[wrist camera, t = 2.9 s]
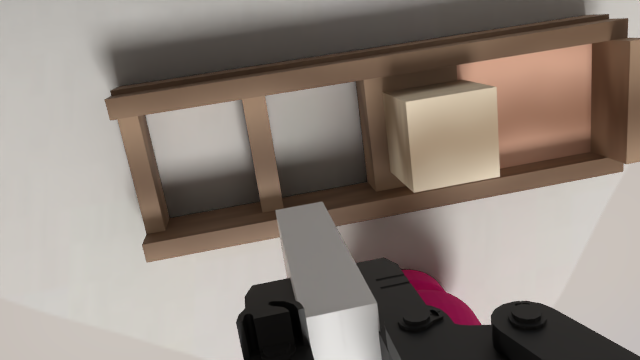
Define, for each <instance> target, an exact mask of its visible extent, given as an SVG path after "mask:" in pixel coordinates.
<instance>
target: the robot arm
mask: <svg viewBox="0 0 640 360" xmlns="http://www.w3.org/2000/svg"><path fill="white" fill-rule="evenodd" d="M275 211H276V217H277V223H278V228H279V234H280V240H281V246H282V251H283V257H284V263H285V269H286V274H287V279H283V280H278V281H273V282H268V283H263V284H258V285H253V286H252V287H251V288H250V290H249V291H248V293H247V294H246V296H245V309H244V310H243V311H242V312H241V313H240V314H239V316H238V319H237V322H236V324H237V329H238V334H239V339H240V343H241V348H242V353H243V358H244V360H640V356H638V355H636V354H634V353H632V352H631V351H629V350H627V349H625V348H623V347H622V346H620V345H618V344H616V343H614V342H613V341H611V340H609V339H607V338H605V337H604V336H602V335H600V334H598V333H596V332H595V331H593V330H591V329H589V328H587V327H586V326H584V325H582V324H580V323H578V322H577V321H575V320H573V319H571V318H569V317H568V316H566V315H564V314H562V313H560V312H559V311H557V310H555V309H553V308H551V307H548V306H546V305H543V304H541V303H535V302H530V301H515V302H511V303H507V304H503V305H501V306H499V307H498V308H496V309H495V310H494V311H493V313H492V315H491V325H459V324H455V323H454V322H453V321H452V320H451V318H450V317H449V316H448V315H447V314H446V313H445V312H444V311H443V310H441V309H439V308H436V307H433V306H430V305H426V304H425V302H424V301H423V300H422V298H421V297H420V295H419V294H418V293H417V291H416V290H415V288H414V287H413V286H412V284H411V283H410V282H409V280H408V279H407V277H406V276H404V273H403V272H402V270H401V269H400V267H399V266H398V265H397V264H396V263H394V262H392V261H390V260H388V259H386V258H380V259H375V260H370V261H365V262H360V263H355V261H354V259H353V257H352V255H351V254H350V252H349V250H348V248H347V246H346V244H345V242H344V241H343V239H342V237H341V235H340V233H339V231H338V229H337V228H336V226H335V224H334V222H333V220H332V218H331V216H330V215H329V213H328V211H327V209H326V207H325V205H324V203H323V202H317V203H311V204H306V205H301V206H295V207H290V208H284V209H279V210H275Z"/></svg>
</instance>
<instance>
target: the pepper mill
mask: <svg viewBox="0 0 640 360" xmlns="http://www.w3.org/2000/svg"><path fill="white" fill-rule="evenodd" d="M402 272H403V273H404V276H406V277H407V279H408V280H409V282H410V283H411V284H412V286H413V287H414V288H415V290H416V291H417V293H418V294H419V295H420V297H421V298H422V300H423V301H424V302H425V304H426V305H430V306H433V307H436V308H439V309H441V310H443V311H444V312H445V313H446V314H447V315H448V316H449V317H450V318H451V320H452V321H453V322H454V323H455V324H459V325H481V323H480V322H479V320H478V319H477V317H476V316H475V314H474V313H473V311H472V310H471V309H470V308H469V307H468V306H467V305H466V304H465V303H464V302H463V301H461V300H460V299H458V298H457V297H455V296H453V295H451V294H449V293H446V292H445V290H444V289H443V288H442V287H441V286H440V284H439V283H438V282H437V281H436V280H435V279H434V278H432V277H431V276H429V275H428V274H426V273H423V272H420V271H416V270H402Z"/></svg>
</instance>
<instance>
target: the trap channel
mask: <svg viewBox="0 0 640 360" xmlns="http://www.w3.org/2000/svg"><path fill="white" fill-rule="evenodd" d="M627 36H628V18H625V19H609V14H604V15H584V16H578V17H571V18H565V19H558V20H552V21H545V22H538V23H532V24H525V25H519V26H512V27H506V28H499V29H493V30H486V31H480V32H473V33H467V34H460V35H453V36H447V37H440V38H434V39H427V40H421V41H414V42H408V43H401V44H395V45H388V46H382V47H375V48H368V49H362V50H355V51H349V52H342V53H336V54H329V55H323V56H316V57H310V58H303V59H297V60H290V61H283V62H277V63H270V64H264V65H257V66H251V67H244V68H238V69H231V70H225V71H218V72H211V73H205V74H198V75H192V76H185V77H179V78H172V79H166V80H159V81H153V82H146V83H140V84H133V85H126V86H120V87H117V88H115V89H113V90H111V91H110V92H111V96H110V97H109V98H107V99H105V103H106V107H107V110H108V114H109V118H110V120H116V119H118V123H119V127H120V131H121V135H122V139H123V143H124V147H125V151H126V155H127V159H128V163H129V167H130V171H131V174H132V178H133V182H134V186H135V190H136V194H137V198H138V202H139V206H140V210H141V214H142V218H143V222H144V226H145V230H146V237H145V239H144V242H143V244H142V246H143V250H144V254H145V258H146V262H152V261H157V260H163V259H168V258H173V257H178V256H184V255H189V254H194V253H199V252H205V251H210V250H215V249H220V248H225V247H231V246H236V245H241V244H246V243H252V242H257V241H262V240H267V239H273V238H278V237H280V234H279V228H278V223H277V217H276V211H275V210H279V209H284V208H290V207H295V206H301V205H306V204H311V203H317V202H323V203H324V205H325V207H326V209H327V211H328V213H329V215H330V216H331V218H332V220H333V222H334V224H335V226H340V225H346V224H351V223H356V222H361V221H367V220H372V219H377V218H382V217H388V216H393V215H398V214H403V213H408V212H414V211H419V210H424V209H429V208H435V207H440V206H445V205H450V204H456V203H461V202H466V201H471V200H476V199H482V198H487V197H492V196H497V195H503V194H508V193H513V192H518V191H524V190H529V189H534V188H539V187H544V186H550V185H555V184H560V183H565V182H571V181H576V180H581V179H586V178H592V177H597V176H602V175H607V174H612V173H618V172H623V163H624V164H630V163H635V162H640V38H627ZM461 79H462V80H467V81H471V82H476V83H481V84H485V85H490V86H495V87H497V113H498V138H499V164H500V177H495V178H490V179H485V180H479V181H474V182H469V183H463V184H458V185H453V186H447V187H442V188H437V189H431V190H426V191H421V192H415V193H414V192H413V191H411V190H410V189H409V188H408V187H407V186H406V185H405V184H404V183H402V182H401V181H400V180H399V179H398V178H397V177H396V176H395V175H393V174H392V173H391V171H390V161H389V152H388V142H387V132H386V122H385V113H384V103H383V93H382V92H388V91H394V90H400V89H406V88H412V87H418V86H424V85H431V84H437V83H443V82H449V81H455V80H461ZM354 81H356V88H357V96H358V105H359V113H360V122H361V131H362V139H363V148H364V156H365V165H366V173H367V182H365V183H359V184H354V185H348V186H343V187H338V188H332V189H327V190H321V191H316V192H310V193H305V194H299V195H294V196H288V197H283V198H282V195H281V189H280V183H279V177H278V171H277V165H276V159H275V153H274V147H273V141H272V135H271V129H270V123H269V117H268V111H267V105H266V99H265V96H266V95H273V94H279V93H285V92H291V91H298V90H304V89H310V88H316V87H323V86H329V85H335V84H341V83H348V82H354ZM241 99H242V103H243V108H244V114H245V119H246V125H247V130H248V136H249V141H250V147H251V152H252V158H253V163H254V169H255V174H256V180H257V185H258V191H259V196H260V202H255V203H250V204H244V205H239V206H233V207H228V208H223V209H217V210H212V211H206V212H201V213H195V214H190V215H184V216H179V217H173V218H169V214H168V210H167V205H166V201H165V197H164V193H163V189H162V184H161V180H160V176H159V172H158V168H157V163H156V159H155V155H154V151H153V146H152V142H151V138H150V134H149V130H148V125H147V121H146V117H145V115H147V114H154V113H160V112H166V111H172V110H179V109H185V108H191V107H197V106H204V105H210V104H216V103H222V102H229V101H235V100H241Z"/></svg>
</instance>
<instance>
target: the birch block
mask: <svg viewBox="0 0 640 360" xmlns="http://www.w3.org/2000/svg"><path fill="white" fill-rule="evenodd" d="M382 93H383V103H384V113H385V122H386V132H387V142H388V152H389V161H390V171H391V173H392V174H393V175H395V176H396V177H397V178H398V179H399V180H400V181H401V182H402V183H404V184H405V185H406V186H407V187H408V188H409V189H410V190H411V191H413V192H414V193H415V192H421V191H426V190H431V189H437V188H442V187H447V186H453V185H458V184H463V183H469V182H474V181H479V180H485V179H490V178H495V177H500V164H499V138H498V113H497V87H495V86H490V85H485V84H481V83H476V82H471V81H467V80H462V79H461V80H455V81H449V82H443V83H437V84H431V85H424V86H418V87H412V88H406V89H400V90H394V91H388V92H382Z"/></svg>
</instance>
